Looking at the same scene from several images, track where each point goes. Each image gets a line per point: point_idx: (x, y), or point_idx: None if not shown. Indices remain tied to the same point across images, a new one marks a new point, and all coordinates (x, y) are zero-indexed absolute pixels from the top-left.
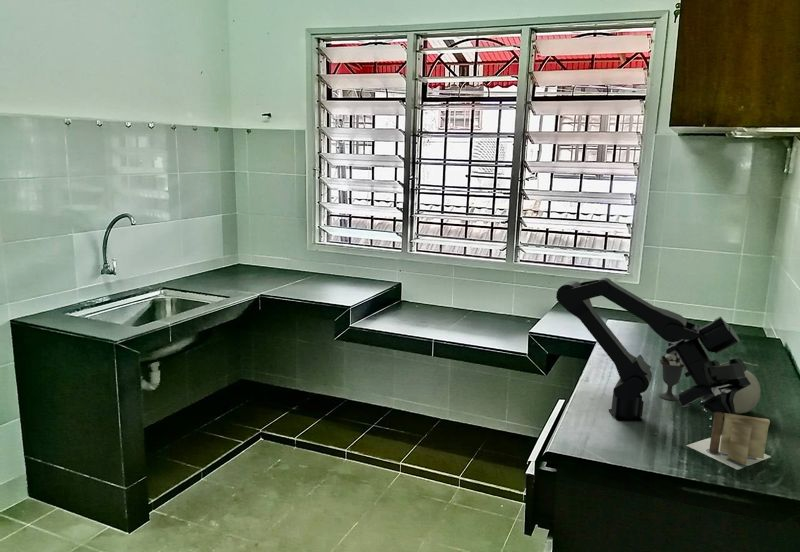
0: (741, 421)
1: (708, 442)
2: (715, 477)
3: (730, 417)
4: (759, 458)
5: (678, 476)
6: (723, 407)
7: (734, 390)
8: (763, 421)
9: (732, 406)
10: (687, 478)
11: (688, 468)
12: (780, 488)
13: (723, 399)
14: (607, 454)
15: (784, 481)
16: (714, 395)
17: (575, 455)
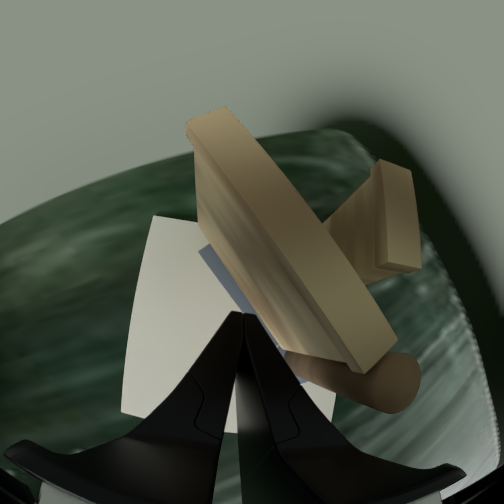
0: (393, 221)
1: (233, 411)
2: (418, 272)
3: (375, 311)
4: (203, 234)
5: (466, 322)
6: (323, 421)
7: (74, 490)
8: (246, 133)
9: (201, 395)
10: (460, 307)
11: (432, 336)
12: (329, 149)
13: (346, 465)
14: (475, 445)
15: (285, 149)
16: (440, 497)
17: (496, 449)
